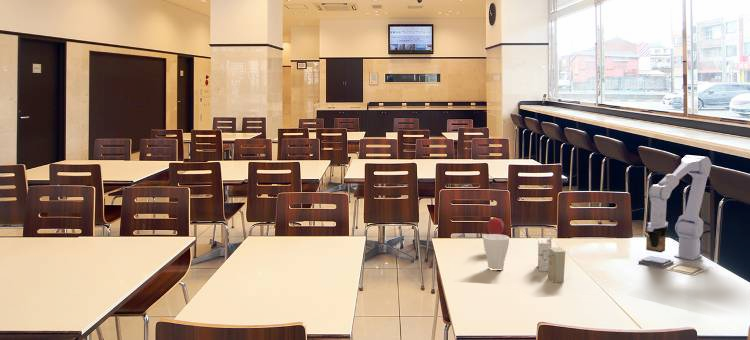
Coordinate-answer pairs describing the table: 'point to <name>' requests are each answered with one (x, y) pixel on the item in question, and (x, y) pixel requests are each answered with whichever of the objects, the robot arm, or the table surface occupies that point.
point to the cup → (496, 249)
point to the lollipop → (495, 226)
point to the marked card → (685, 269)
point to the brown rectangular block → (659, 248)
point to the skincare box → (556, 264)
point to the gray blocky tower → (543, 253)
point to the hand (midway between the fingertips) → (656, 245)
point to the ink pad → (656, 262)
